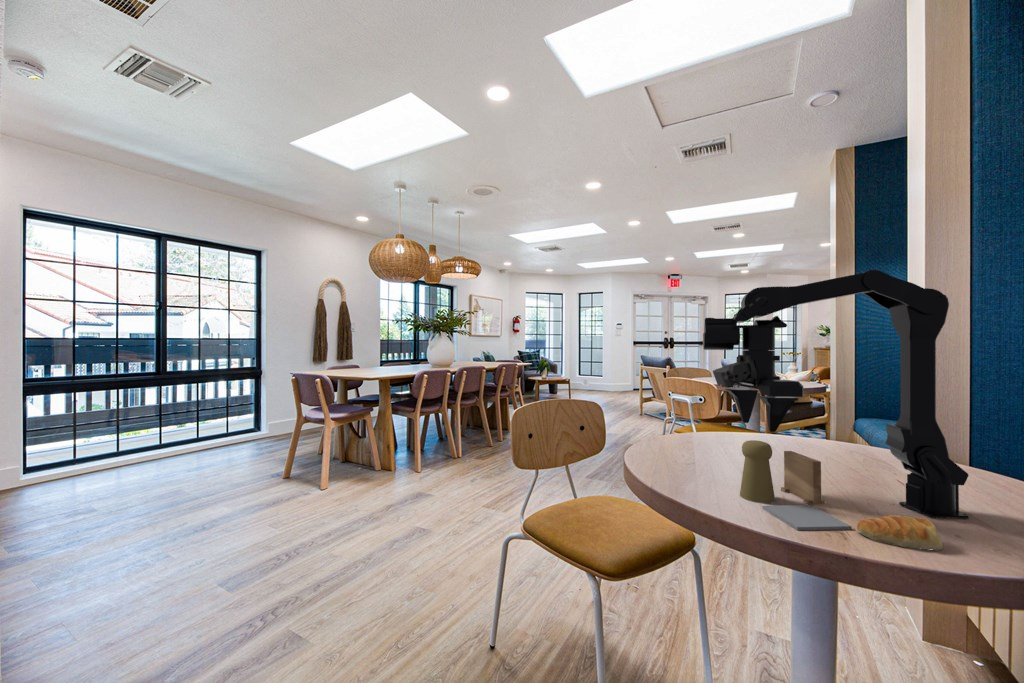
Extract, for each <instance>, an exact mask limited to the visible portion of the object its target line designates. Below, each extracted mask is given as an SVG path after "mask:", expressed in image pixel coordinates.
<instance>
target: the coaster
mask: <svg viewBox="0 0 1024 683" xmlns="http://www.w3.org/2000/svg"><path fill="white" fill-rule="evenodd" d="M761 509H762V510H764V511H766V512H768V513H769V514H770V515H772V516H773V517H775V518H776V519H778V520H780V521H781V522H783V523H785V524H786V525H789V526H790V527H792V528H793V529H794V530H797V531H826V530H828V531H829V530H832V531H835V530H838V531H840V530H842V531H843V530H853V529H852V528H853V527H852V525H850V524H849V523H846V522H844V521H843V520H840V519H838V518H836V517H834V516H832V515H831V514H829V513H827V512H825V511H823V510H821V509H818V508H816V506H813V505H812V504H798V505H797V504H796V505H795V504H791V505H789V504H788V505H787V504H786V505H784V504H783V505H782V504H781V505H762V507H761Z"/></svg>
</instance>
